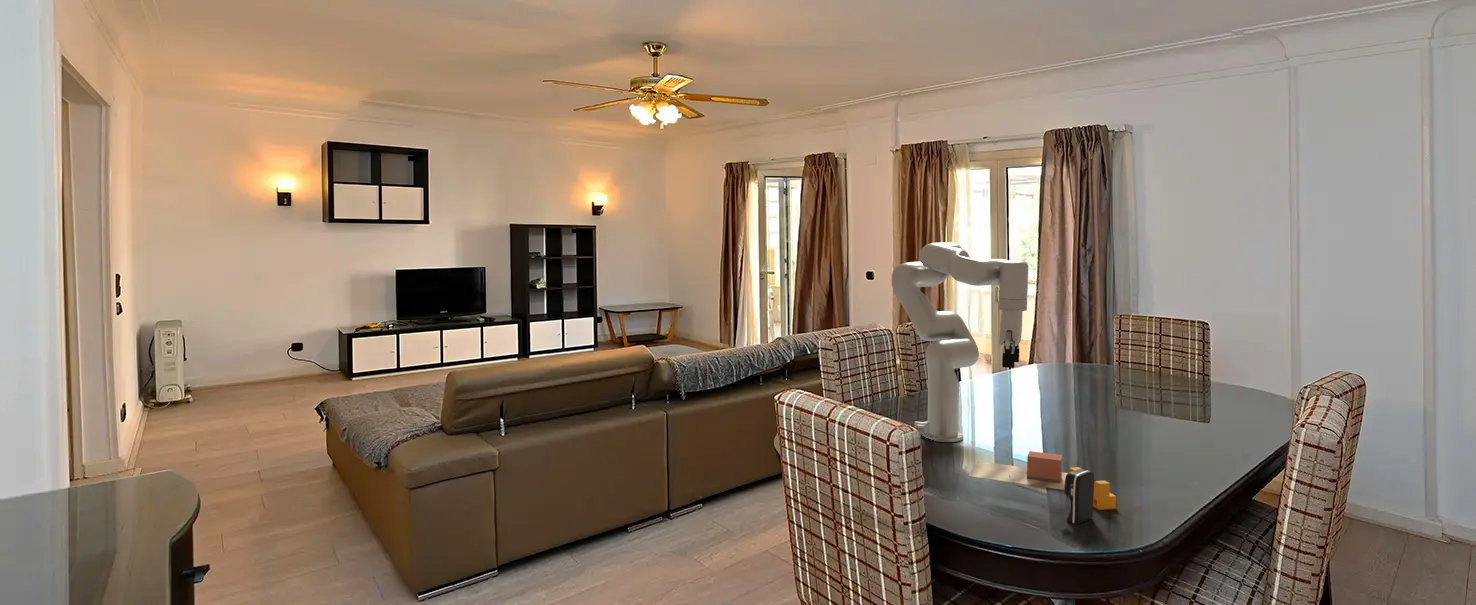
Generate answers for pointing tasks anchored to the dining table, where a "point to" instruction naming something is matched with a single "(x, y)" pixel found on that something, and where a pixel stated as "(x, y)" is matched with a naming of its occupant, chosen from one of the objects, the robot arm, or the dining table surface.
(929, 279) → the robot arm
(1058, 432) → the dining table surface
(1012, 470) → the board
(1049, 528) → the dining table surface
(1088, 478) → the battery charger
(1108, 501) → the pipe clamp
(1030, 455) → the block
